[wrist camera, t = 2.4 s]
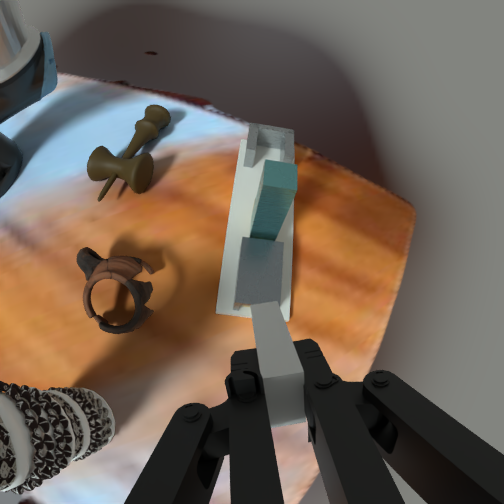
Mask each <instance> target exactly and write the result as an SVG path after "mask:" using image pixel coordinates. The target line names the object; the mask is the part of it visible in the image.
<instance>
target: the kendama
mask: <svg viewBox="0 0 504 504" xmlns="http://www.w3.org/2000/svg"><path fill="white" fill-rule="evenodd" d="M170 120H171V117H170V114H169V112H168V111H167V109H165V108H164V107H162V106H159V105H150V106H147V108H146V109H145V117H144V118H143V119H142V120H139V121H137V122H136V124H135V130H136V132H135V134H134V136H133V138H132V140H131V142H130V144H129V146H128V148H127V149H126V151H125V153H124V155H123V156H122V158H119V157H115V156H114V155H113V154H112V153H111V152H110V151H109V150H108V149H107V148H106V147H104V146H99V147H97V148H96V149H95V150H94V151H93V152H92V154H91V155H90V157H89V160H88V163H87V172H88V176H89V177H90V179H91V180H93V181H100V180H103V179H105V178H109V177H110V178H109V179H108V181H107V183H106V184H105V186H104V188H103V189H102V191H101V193H100V195H99V197H98V201H101V200H102V199H103V197H104V196H105V195H106V193H107V192H108V190H109V189H110V187H111V186H112V184H113V183H114V181H115V180H116V178H120V179H123V180H125V181H126V182H127V183H128V184H129V186H130V187H131V189H132V190H133V191H134V192H135V193H138V194H141V193H142V192H143V191H144V190H145V189H146V188H147V186H148V185H149V182H150V180H151V178H152V174H153V168H154V165H153V158H152V156H151V155H150V154H149V153H143V154H141V155H139V156H136V157H134V158H132V157H133V156H134V155H135V154H136V153H137V152H138V151H139V150H140V148H141V147H142V146H144V145H145V144H146V143H147V142H148V141H149V140H153V139H156V138H157V137H158V134H159V130H160V129H161V128H163V127H166V126H168V125H169V123H170Z"/></svg>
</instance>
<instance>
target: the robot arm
mask: <svg viewBox="0 0 504 504" xmlns="http://www.w3.org/2000/svg"><path fill="white" fill-rule="evenodd" d="M56 86H57V71H56V65H55V60H54V53H53V48H52V43H51V38H50V35H49V33H48V32H41V33H39V32H38V30H37V29H36V28H35V27H33V26H29V25H26V23H25V20H24V17H23V14H22V10H21V7H20V4H19V0H0V124H1V123H3V122H4V121H6V120H7V119H9V118H10V117H12V116H14V115H15V114H17V113H18V112H20V111H22V110H23V109H25V108H27V107H28V106H30V105H32V104H34V103H35V102H37V101H40V100H41V99H42V98H43V97H44V96H46V95H48V94H49V93H51V92H52V91H53V90H54V89H55V88H56ZM21 164H22V153H21V151H20V149H19V147H18V146H17V144H16V143H15V142H14V141H12V140H11V139H9V138H8V137H7V136H5V135H4V134H2V133H1V132H0V197H1V196H2V195H3V194H4V193H5V192H6V191H7V190H8V188H9V187H10V186H11V184H12V183H13V181H14V180H15V178H16V176H17V174H18V172H19V170H20V167H21ZM250 308H251V315H252V322H253V329H254V336H255V342H256V348H255V349H247V350H240V351H235V352H234V354H233V355H232V357H231V373H230V374H229V375H228V376H227V377H226V379H225V386H226V390H227V394H228V399H227V400H226V401H225V402H224V403H222V404H220V405H218V406H216V407H212V408H208V407H207V406H205V405H204V404H200V403H189V404H186V405H183V406H182V407H180V408H178V410H177V411H176V412H175V413H174V415H173V417H172V419H171V421H170V422H169V424H168V426H167V428H166V430H165V431H164V433H163V435H162V437H161V439H160V440H159V442H158V444H157V446H156V447H155V449H154V451H153V453H152V455H151V456H150V458H149V460H148V462H147V464H146V465H145V467H144V469H143V471H142V472H141V474H140V476H139V478H138V480H137V481H136V483H135V485H134V487H133V488H132V490H131V492H130V494H129V495H128V497H127V499H126V501H125V502H124V504H209V502H210V499H211V496H212V493H213V490H214V487H215V484H216V481H217V478H218V475H219V472H220V469H221V466H222V463H223V460H224V456H226V455H228V454H229V455H230V493H231V504H284V500H283V494H282V489H281V483H280V477H279V472H278V466H277V461H276V455H275V449H274V443H273V438H272V432H271V428H274V427H280V426H286V425H292V424H297V423H302V422H306V418H307V421H308V442H312V445H313V449H314V452H315V455H316V459H317V462H318V465H319V469H320V472H321V476H322V478H323V482H324V485H325V489H326V492H327V496H328V499H329V502H330V504H405V502H404V500H403V498H402V496H401V494H400V492H399V490H398V488H397V486H396V484H395V482H394V481H393V478H392V476H391V474H390V472H389V470H388V468H387V466H386V464H385V462H384V460H385V461H386V462H387V463H388V464H389V465H390V466H391V467H392V468H393V469H394V470H395V471H396V472H397V473H398V474H399V475H400V476H401V477H402V478H403V480H404V481H405V482H407V484H408V485H409V486H410V487H411V488H412V489H413V490H414V491H415V492H416V493H417V494H418V495H419V496H420V497H421V498H422V499H423V500H424V501H425V502H426V503H428V504H504V455H503V454H502V453H500V452H499V451H498V450H496V449H495V448H493V447H492V446H491V445H489V444H488V443H486V442H485V441H484V440H482V439H481V438H480V437H478V436H477V435H476V434H474V433H473V432H471V431H470V430H469V429H467V428H466V427H465V426H463V425H462V424H460V423H459V422H457V421H456V420H455V419H454V418H452V417H451V416H450V415H448V414H447V413H446V412H444V411H443V410H442V409H440V408H439V407H438V406H436V405H435V404H433V403H432V402H430V401H429V400H428V399H427V398H425V397H424V396H423V395H421V394H420V393H419V392H417V391H416V390H415V389H413V388H412V387H411V386H409V385H408V384H407V383H405V382H404V381H403V380H401V379H400V378H399V377H397V376H396V375H395V374H393V373H391V372H389V371H384V370H377V371H373V372H370V373H369V374H367V375H366V376H365V378H364V379H363V382H347V381H342V379H341V378H340V377H339V376H338V375H336V374H334V373H332V371H331V369H330V367H329V365H328V363H327V361H326V359H325V357H324V356H323V353H322V351H321V349H320V347H319V345H318V343H316V342H315V341H313V340H312V339H305V340H300V341H294V342H293V341H292V339H291V336H290V333H289V331H288V328H287V325H286V323H285V320H284V317H283V315H282V312H281V309H280V307H279V304H278V301H273V302H267V303H260V304H253V305H250ZM383 459H384V460H383Z"/></svg>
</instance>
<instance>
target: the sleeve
mask: <svg viewBox="0 0 504 504" xmlns="http://www.w3.org/2000/svg"><path fill="white" fill-rule="evenodd" d="M283 249H284V242H278V241H271V240H263V239H256V238H249V237H242V241H241V246H240V251H239V259H238V268H237V276H236V285H235V294H234V303H233V310H237V311H239V308H240V305H245V306H250V305H253V304H260V303H267V302H273V301H278V304H279V307H280V302H281V286H282V268H283Z"/></svg>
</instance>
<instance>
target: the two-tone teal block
mask: <svg viewBox="0 0 504 504" xmlns="http://www.w3.org/2000/svg"><path fill="white" fill-rule="evenodd" d="M296 192H297V165H296V164H291V163H285V162H279V161H273V160H267V159H265V162H264V166H263V170H262V174H261V179H260V183H259V187H258V191H257V195H256V199H255V200H254V205H253V210H252V216H251V226H250V235H249V238H256V239H263V240H271V241H275V240H276V238H277V236H278V234H279V231H280V229H281V227H282V224H283V222H284V220H285V217H286V215H287V213H288V211H289V208H290V206H291V204H292V201H293V199H294V197H295V194H296ZM242 307H250V306H245V305H243V306H242Z"/></svg>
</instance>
